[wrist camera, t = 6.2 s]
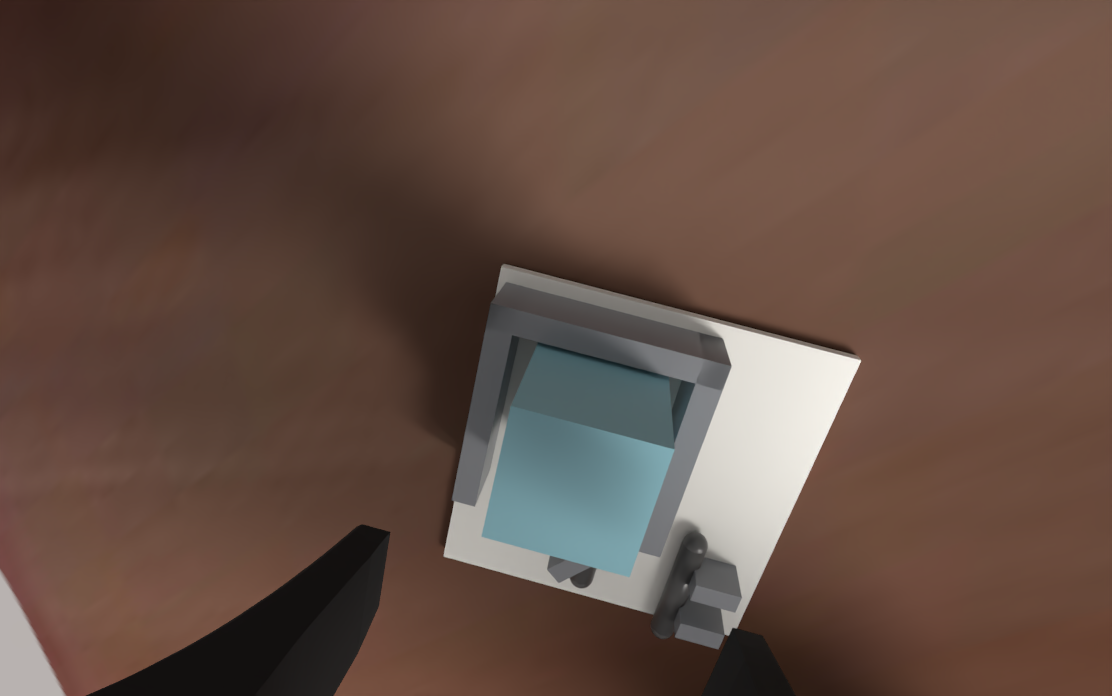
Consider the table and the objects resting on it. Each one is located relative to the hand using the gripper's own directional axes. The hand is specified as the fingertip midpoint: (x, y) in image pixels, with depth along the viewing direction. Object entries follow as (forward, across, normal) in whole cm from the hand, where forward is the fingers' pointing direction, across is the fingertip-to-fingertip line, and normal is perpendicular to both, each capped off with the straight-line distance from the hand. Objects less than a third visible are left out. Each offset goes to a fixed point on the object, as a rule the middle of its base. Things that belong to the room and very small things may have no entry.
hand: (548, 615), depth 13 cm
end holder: (+10, 0, 0) cm, 10 cm away
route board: (+10, -2, +2) cm, 10 cm away
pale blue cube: (+9, 0, -1) cm, 9 cm away
